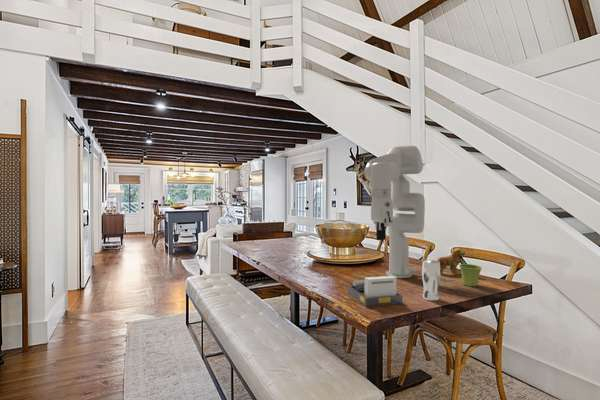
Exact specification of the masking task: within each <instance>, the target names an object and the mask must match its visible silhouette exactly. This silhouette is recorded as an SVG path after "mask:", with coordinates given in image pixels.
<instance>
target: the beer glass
mask: <svg viewBox="0 0 600 400" xmlns="http://www.w3.org/2000/svg"><path fill="white" fill-rule="evenodd" d="M421 279H422V284H423V285H422V286H423V292H422V297H421V298H422V299H424V300H426V301H430V302H431V301H432V302H436V301H439V299H440V298H439V284H440V279H441V275H440V262H439V261H437V259H424V260H422V261H421Z"/></svg>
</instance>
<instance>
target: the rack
mask: <svg viewBox="0 0 600 400" xmlns="http://www.w3.org/2000/svg"><path fill="white" fill-rule="evenodd" d="M364 290H365V279H359V280H352V285H348V286H347V293H348V294H349V296H351V297H353V298H354V299H355V300H357V301H358V303H361V304H362V305H363V306H364V307H366V308H367V307H377V306H378V307H379V306H389V305H398V304H399V305H401V304H403V295H402V294H400V293H398V292H397V291H396V295H395V296H383V297H372V298H366V297H365V296H364Z"/></svg>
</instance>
